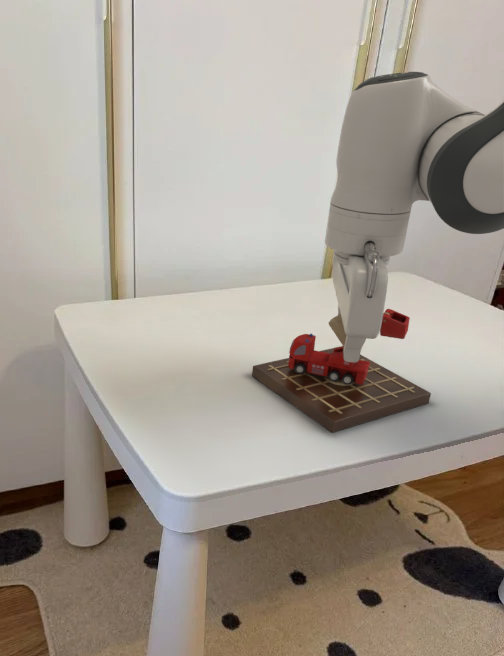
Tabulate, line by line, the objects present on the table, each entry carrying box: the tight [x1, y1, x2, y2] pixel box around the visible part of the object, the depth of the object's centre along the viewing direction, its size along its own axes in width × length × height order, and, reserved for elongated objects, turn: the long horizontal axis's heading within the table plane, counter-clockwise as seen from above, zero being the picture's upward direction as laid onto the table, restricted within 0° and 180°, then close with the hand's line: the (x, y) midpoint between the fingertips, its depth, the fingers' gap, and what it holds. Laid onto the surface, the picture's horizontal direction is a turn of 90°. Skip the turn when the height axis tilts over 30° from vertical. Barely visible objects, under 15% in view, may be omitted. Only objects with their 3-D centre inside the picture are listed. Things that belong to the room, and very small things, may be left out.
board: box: [251, 345, 432, 433], centre depth 81 cm, size 16×16×2 cm
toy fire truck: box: [288, 308, 410, 385], centre depth 78 cm, size 3×14×10 cm, turn 66°
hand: (346, 343), depth 78 cm, fingers open, 8 cm apart
